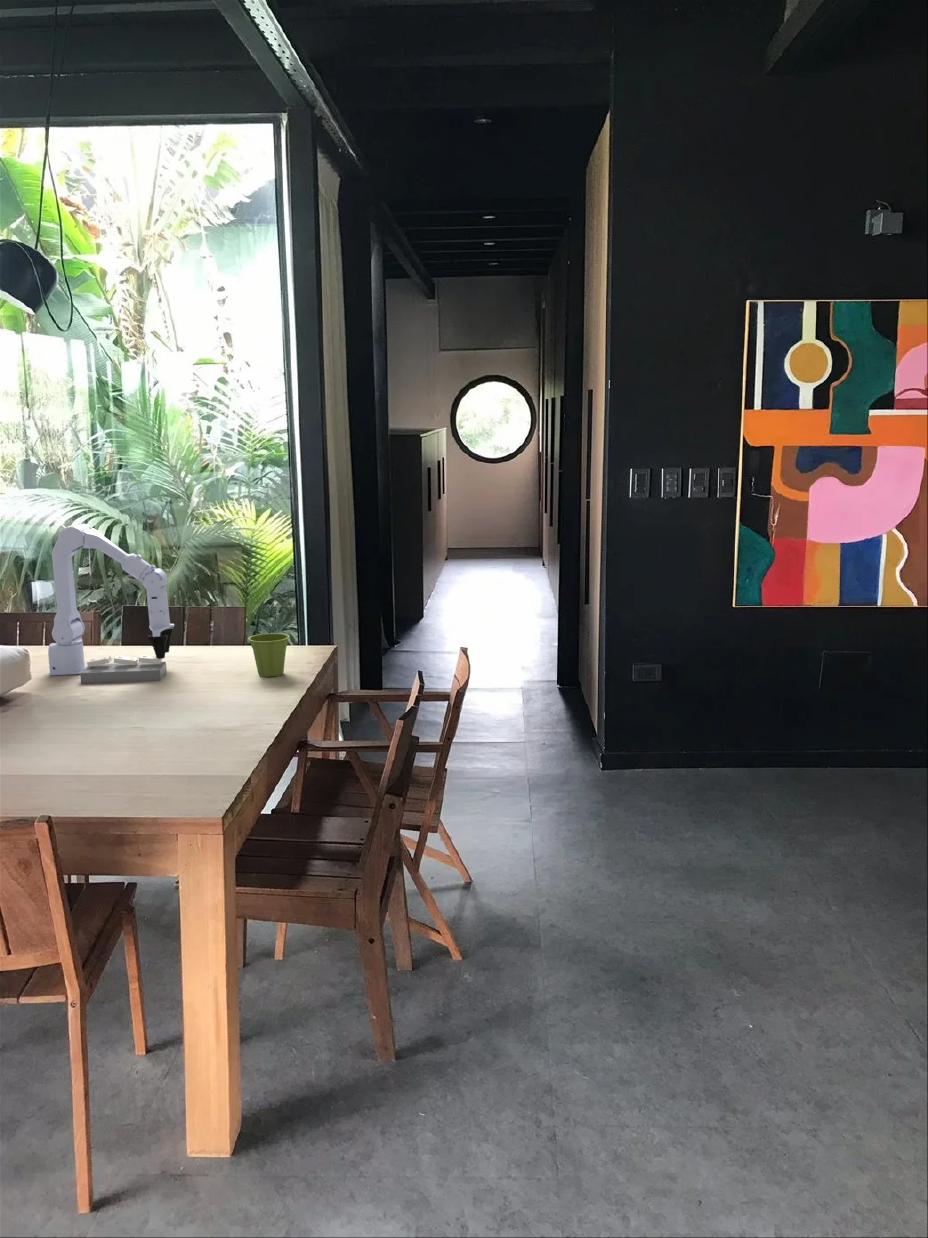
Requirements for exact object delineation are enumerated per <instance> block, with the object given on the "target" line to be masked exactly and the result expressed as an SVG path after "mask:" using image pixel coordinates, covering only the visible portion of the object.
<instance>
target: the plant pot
mask: <svg viewBox="0 0 928 1238" xmlns="http://www.w3.org/2000/svg"><path fill="white" fill-rule="evenodd" d="M290 637H291V636H290V635H289V634H286V633H279V632H277V633H276V632H273V633H271V632H270V633H269V632H268V633H259V634H254V635H251V636H249V637H248V641H249V642H250V645H251V649H252V651H253V652H252V653H253V656H254V661H255V665H256V671H257V674H258V675H259V676H260V677H264V678H270V677H279V676H282V675H283V674H284V672H285V662H286V661H285V660H286V654H287V653H286V651H287V647H288V640H289V639H290Z"/></svg>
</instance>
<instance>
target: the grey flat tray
mask: <svg viewBox="0 0 928 1238" xmlns="http://www.w3.org/2000/svg"><path fill="white" fill-rule="evenodd" d="M86 666H87V667H86V668H85V669H84V670H83V671H82V672H81V673H80V674H79V675H80V683H81V684H96V683H97V684H98V683H122V682H123V683H124V682H127V683H128V682H142V681H143V682H148V681H151V682H152V681H154V682H155V681H162V679H163V678H164V676H165V675H166V674H167V672H168V671H167V661H162V662H161V663H160V664H153V663H141V662H137V664H136V665H128V664H119V663H107V664H101V665H96V666H91V667H88V665H86Z"/></svg>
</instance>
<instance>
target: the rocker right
mask: <svg viewBox="0 0 928 1238" xmlns="http://www.w3.org/2000/svg"><path fill="white" fill-rule="evenodd" d="M161 662H163V659H159V658H157V657H156V655H146V654H140V656H139V657H138V663H153V664H160V663H161Z"/></svg>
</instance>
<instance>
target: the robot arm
mask: <svg viewBox="0 0 928 1238" xmlns="http://www.w3.org/2000/svg"><path fill="white" fill-rule="evenodd" d="M57 537H58V538H57V540H56V542H55V544H54V546H53V548H52V550H51V561H52V567H53V568H52V571H53V581H54V593H55V599H56V601H55V602H56V611H57V612H56V614H55V616H54V619H53V627H52V630H51V635H52V636H51V637H52V639H53V640H54V641H55V642H52V643H49V645H48V648H47V649H48V650H47V652H48V653H47V655H48V664H49V674H48V675H49V676H60V675H61V676H64V675H65V676H66V675H80V673H81V672H82V671H83V670H84V669H85V668H86V667H87V666H88V665H85V664H86V663H85V653H84V643H83V641H84V640H83V638H82V636H83V635H84V634H85V630H86V626H85V623H84V622H83V620H82V617H81V612H79V611H78V609H77V600H76V590H75V589H76V588H75V579H74V568H73V567H74V566H73V556H74V555H75V554H76V553H78V552H79V551H80V550H81V549H82V548H83V549H95V550H96V549H97V550H98V551H100V552H102V553H104V554H105V555H106V556H108V557H110V558H112V559H114V560H115V561H116V562H118V563H120V565H121V569H122V570H123V571H124V572H125V573H127V574H129V575H130V576H131V577H133V578H135V579H136V580H137V581H138V582H141V584H142V586H143V588H144V589H145V590H146V600H147V608H148V609H147V610H148V619H149V626H148V627H149V629H150V631H151V632H152V634H149V635H148V636H147V639H148V642H150V644H151V646H152V648H153V651H154V654H155V655H154V656H156V657H157V658H159V659H162V660H163V659H165V657H166V653H170V646H171V639H172V638H171V637H172V635H173V631H174V627H175V623H171V620H170V611H169V610H170V609H169V601H168V591H167V584H168V582H169V576H168V574H167V572H166V571H165V570H164V569H163V568H160V567H159V568H158V567H156V565H155V564H150V563H149V562H148V561H146V560H144V559H143V555H141V554H140V553H139V554H135V553H127V552H126V551H124V550H123V549H122V548H121V547H119V546H117V544H115V543H114V542H112V541H111V540H110V539H108V538H107V537H106V536H104V535H103V534H102V533H101V532H99V530H97V529H95V528H93V527H91V526H90V525H89V524H87V523H79V524H77V525H74V526H73V525H72V526H69V527H66V528H64V529H63V530H62V531H61V532H60V533H58V535H57Z"/></svg>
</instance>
